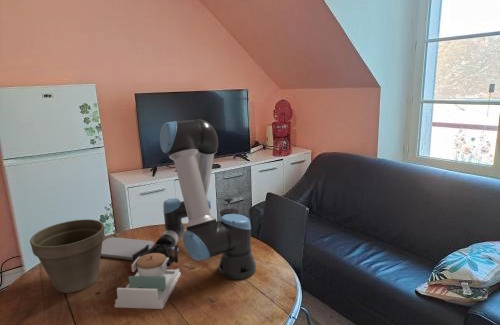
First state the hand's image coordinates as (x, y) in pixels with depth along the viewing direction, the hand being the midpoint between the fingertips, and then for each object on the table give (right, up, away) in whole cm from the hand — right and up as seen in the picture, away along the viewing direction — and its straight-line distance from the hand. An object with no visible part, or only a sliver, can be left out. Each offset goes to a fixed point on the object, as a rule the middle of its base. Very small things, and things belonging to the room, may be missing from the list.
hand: (147, 269), depth 125 cm
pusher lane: (0, -9, +2) cm, 9 cm away
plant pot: (-31, -8, +8) cm, 33 cm away
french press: (+28, 0, +37) cm, 46 cm away
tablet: (-22, -3, +35) cm, 41 cm away
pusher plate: (0, -8, 0) cm, 8 cm away
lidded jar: (0, -5, +5) cm, 7 cm away
